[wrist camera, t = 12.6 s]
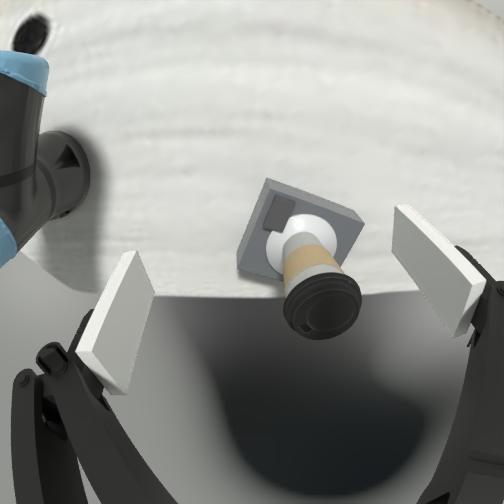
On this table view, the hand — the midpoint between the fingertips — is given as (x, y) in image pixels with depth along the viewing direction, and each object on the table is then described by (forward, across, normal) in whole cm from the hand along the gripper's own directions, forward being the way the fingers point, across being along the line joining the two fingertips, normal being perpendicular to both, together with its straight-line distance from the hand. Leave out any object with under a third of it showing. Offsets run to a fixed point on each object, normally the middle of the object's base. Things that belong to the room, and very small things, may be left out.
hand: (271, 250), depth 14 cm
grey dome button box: (+32, +5, -17) cm, 36 cm away
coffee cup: (+26, +5, -17) cm, 32 cm away
